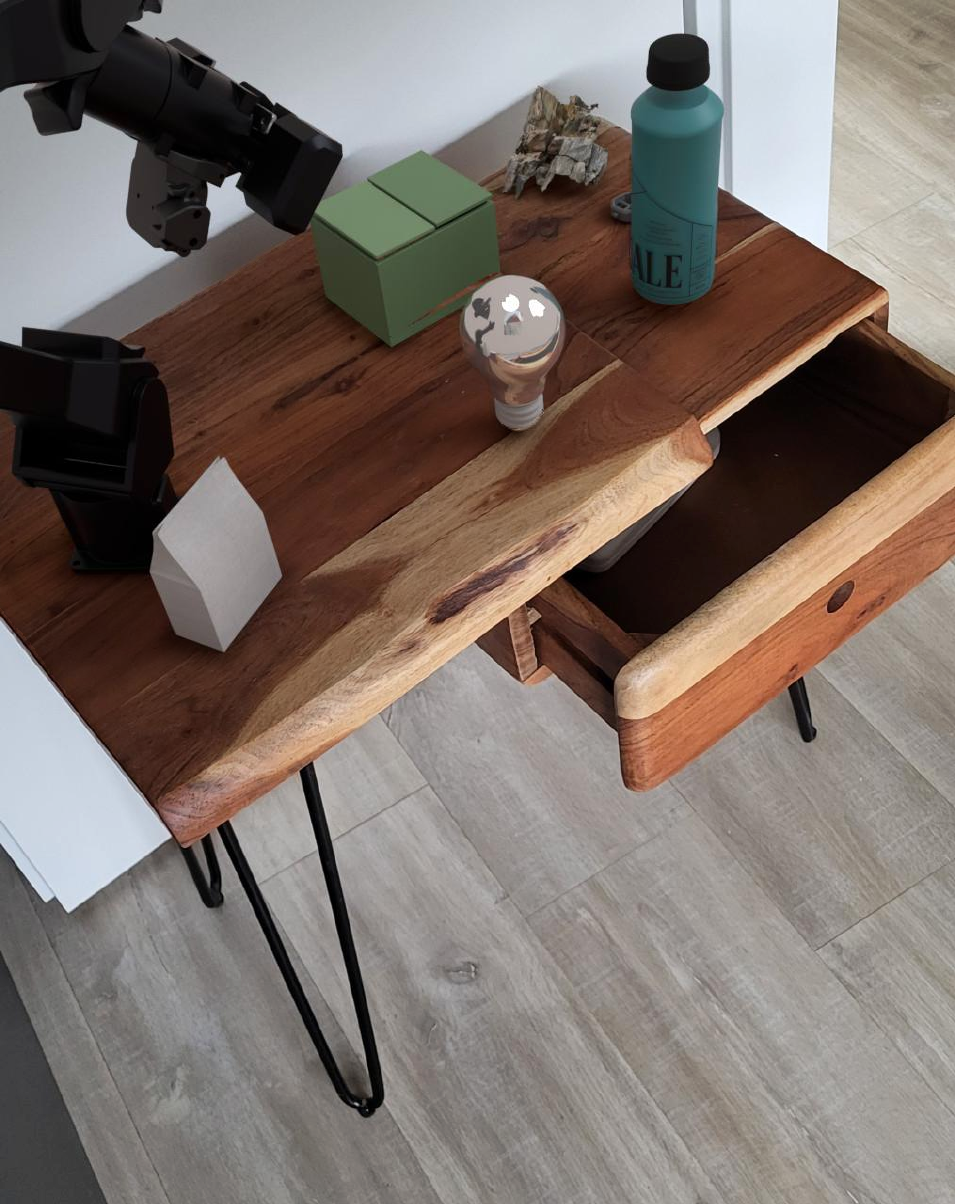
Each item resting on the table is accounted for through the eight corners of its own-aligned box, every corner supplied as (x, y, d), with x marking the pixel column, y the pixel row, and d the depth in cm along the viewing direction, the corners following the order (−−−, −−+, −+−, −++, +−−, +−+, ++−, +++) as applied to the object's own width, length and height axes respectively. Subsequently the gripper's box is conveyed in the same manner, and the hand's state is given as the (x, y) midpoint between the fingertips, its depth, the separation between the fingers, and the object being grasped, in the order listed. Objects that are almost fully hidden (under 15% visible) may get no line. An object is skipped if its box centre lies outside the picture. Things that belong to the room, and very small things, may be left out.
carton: (391, 347, 99) (375, 257, 93) (325, 296, 104) (306, 207, 98) (501, 284, 103) (493, 193, 97) (433, 238, 108) (421, 149, 102)
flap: (376, 259, 93) (376, 256, 93) (308, 210, 98) (308, 207, 98) (435, 230, 95) (435, 226, 95) (365, 183, 100) (365, 180, 100)
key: (599, 215, 108) (628, 229, 106) (598, 203, 107) (627, 217, 105) (699, 156, 113) (728, 168, 111) (699, 145, 112) (729, 157, 110)
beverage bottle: (714, 270, 102) (729, 16, 87) (715, 324, 98) (731, 68, 83) (629, 271, 103) (629, 20, 88) (627, 325, 99) (626, 71, 83)
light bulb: (456, 450, 91) (437, 310, 82) (491, 386, 96) (476, 245, 86) (552, 469, 89) (543, 326, 80) (583, 402, 94) (577, 260, 84)
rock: (634, 109, 117) (629, 68, 114) (597, 203, 108) (592, 160, 105) (542, 113, 120) (536, 72, 117) (499, 204, 110) (491, 163, 108)
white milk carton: (282, 576, 85) (248, 464, 78) (224, 652, 82) (182, 542, 74) (235, 560, 87) (197, 448, 79) (175, 634, 83) (129, 524, 75)
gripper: (22, 152, 87) (206, 227, 99) (159, 272, 77) (345, 340, 89) (91, -10, 84) (272, 89, 96) (244, 94, 73) (425, 189, 86)
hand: (324, 177), depth 92 cm, fingers closed
